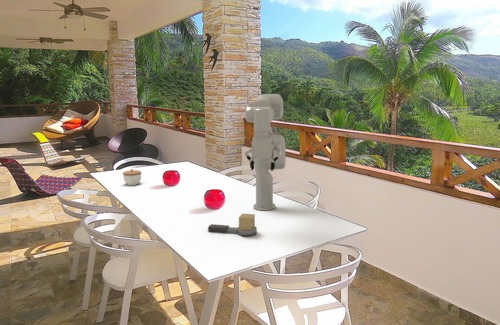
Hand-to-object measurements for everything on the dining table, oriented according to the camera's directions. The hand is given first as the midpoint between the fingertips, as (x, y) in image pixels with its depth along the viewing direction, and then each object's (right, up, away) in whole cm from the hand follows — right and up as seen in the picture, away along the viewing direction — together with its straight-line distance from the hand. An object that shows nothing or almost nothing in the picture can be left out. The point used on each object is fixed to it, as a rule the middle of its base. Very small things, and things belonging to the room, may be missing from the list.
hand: (262, 169), depth 192 cm
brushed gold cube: (-7, -27, -5) cm, 29 cm away
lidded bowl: (-90, -12, +96) cm, 132 cm away
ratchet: (-14, -29, -3) cm, 33 cm away
